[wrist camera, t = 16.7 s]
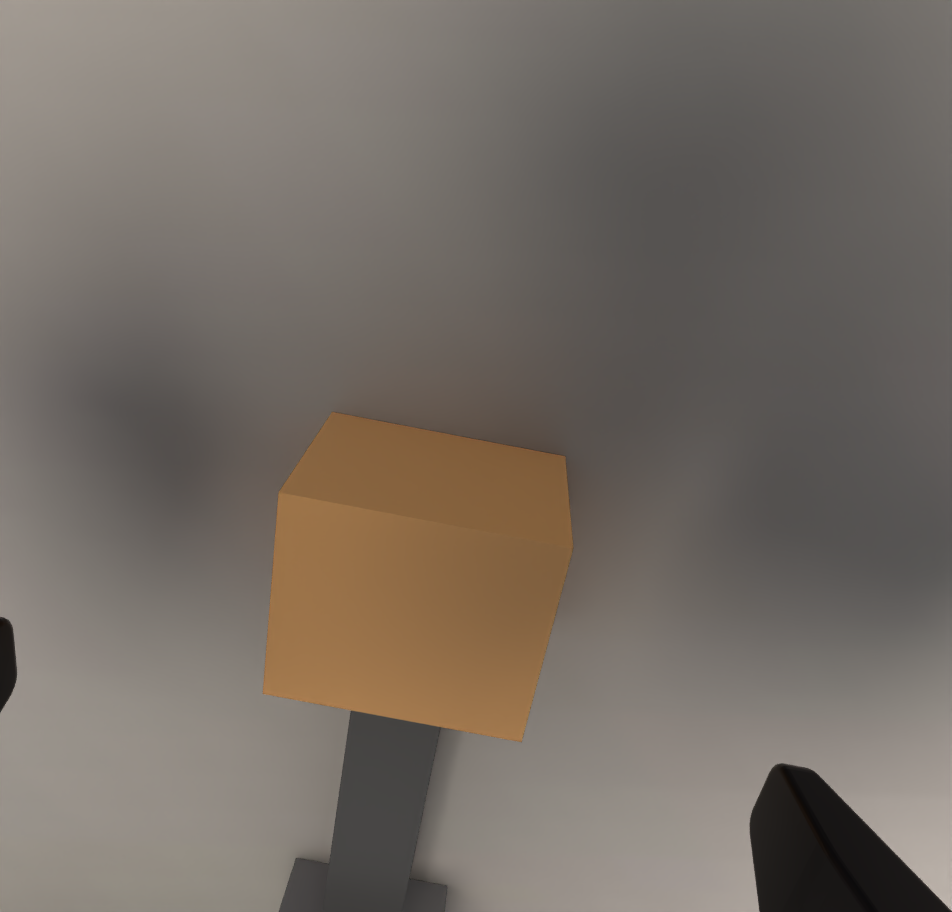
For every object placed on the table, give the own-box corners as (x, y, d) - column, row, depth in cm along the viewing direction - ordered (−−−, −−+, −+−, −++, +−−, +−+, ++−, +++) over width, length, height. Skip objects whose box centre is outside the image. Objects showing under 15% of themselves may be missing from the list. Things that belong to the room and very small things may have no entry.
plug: (441, 956, 19) (425, 1101, 16) (277, 926, 19) (233, 1066, 16) (565, 456, 13) (573, 548, 10) (332, 412, 13) (278, 492, 10)
